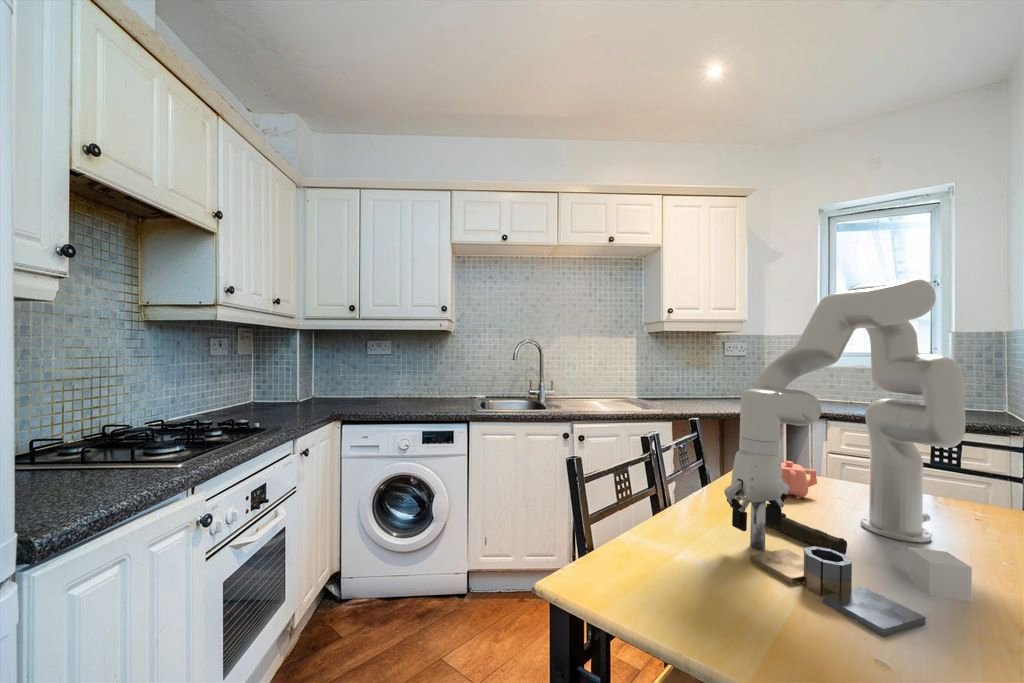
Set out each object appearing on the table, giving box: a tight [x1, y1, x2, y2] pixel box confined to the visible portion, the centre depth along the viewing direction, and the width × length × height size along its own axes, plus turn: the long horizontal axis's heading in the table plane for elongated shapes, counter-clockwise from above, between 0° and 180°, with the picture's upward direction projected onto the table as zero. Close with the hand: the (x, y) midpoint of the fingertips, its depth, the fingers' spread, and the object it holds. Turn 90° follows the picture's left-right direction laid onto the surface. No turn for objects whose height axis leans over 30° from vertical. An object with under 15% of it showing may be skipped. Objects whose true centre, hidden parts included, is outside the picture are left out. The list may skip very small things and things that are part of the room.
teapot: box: [781, 460, 818, 499], centre depth 129 cm, size 12×12×10 cm
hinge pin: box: [749, 501, 767, 552], centre depth 93 cm, size 3×3×10 cm
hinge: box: [748, 545, 927, 638], centre depth 77 cm, size 10×24×6 cm, turn 19°
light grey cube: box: [907, 546, 973, 603], centre depth 78 cm, size 6×6×6 cm
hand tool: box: [766, 512, 848, 555], centre depth 98 cm, size 19×4×5 cm, turn 20°
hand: (756, 526), depth 93 cm, fingers open, 9 cm apart
